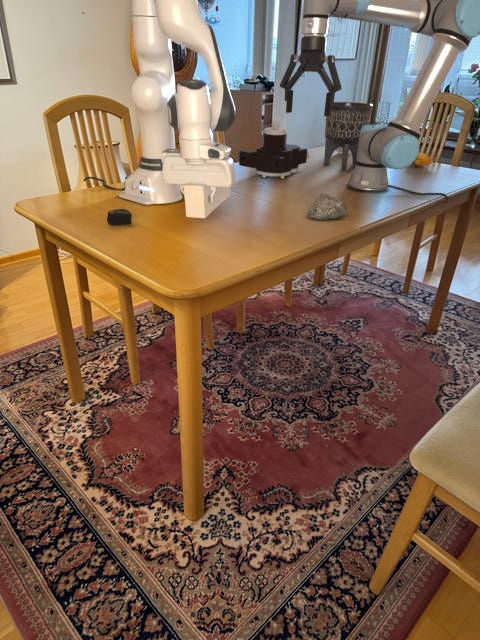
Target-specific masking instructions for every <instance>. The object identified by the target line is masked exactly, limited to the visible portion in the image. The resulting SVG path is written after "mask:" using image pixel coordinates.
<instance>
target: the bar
mask: <svg viewBox="0 0 480 640" xmlns="http://www.w3.org/2000/svg"><path fill="white" fill-rule="evenodd" d="M212 192H213V190H211V186H206V184H192V183H186V184H185V185H184V194H183V196H184V195H185V199H184V206H185V207H184V208H185V217H186V218H197V219H206V218H207V217H208V216H209V215H210V214H211V213H212V212H214V211H215V210H216V209H217V208H218V207H220V206H221V204H222V203H224V202H225V201H226V200H227V199H228V198H229V197H230V196H231V195H232V186H231V187H218V190H217V192H216V194H215V201H214V202H213V203H212V202H208V196H209V195H211V194H212Z"/></svg>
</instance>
